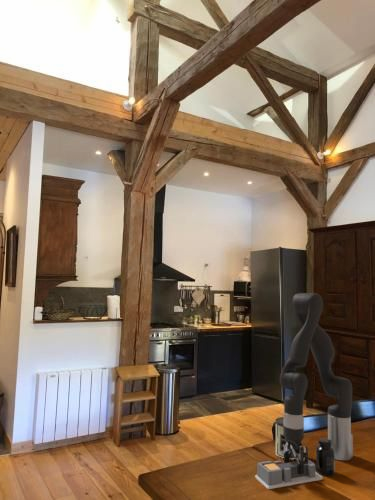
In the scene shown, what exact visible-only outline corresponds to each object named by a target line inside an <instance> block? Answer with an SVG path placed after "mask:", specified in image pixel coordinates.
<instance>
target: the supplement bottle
mask: <svg viewBox="0 0 375 500" xmlns="http://www.w3.org/2000/svg"><path fill="white" fill-rule="evenodd" d="M331 446H332V444H331V440H329V439H328V438H326V437H325V438H324V437H321V438H319V439H318V446H316V448H315V452H316V453H315V455H316V456H315V457H316V458H315V459H316V460H315V461H316V463H315V469H316V473H318V474H319V475H321V476H327V477H328V476H329V477H330V476H331V477H332V476H333V475H335V472H336V469H335V467H336V465H335V462H336V461H335V460H336V459H335V458H334V449H333V448H332V447H331Z"/></svg>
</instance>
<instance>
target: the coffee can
mask: <svg viewBox="0 0 375 500" xmlns="http://www.w3.org/2000/svg"><path fill="white" fill-rule="evenodd" d="M283 418H284V416H282V417H277V418H275V421H274V422H275V453H274V454H275V455H276V456H277V457H278V456H279V457H278V458H280V457H281V459H283V458H284V454H283V451H282V450H280V435H283ZM283 447H284V444H283ZM289 454H290V459H291V460H290V461H294V459H295V460H296V458H295V457H294V454H293V453H292V452H290V453H289ZM299 454H300V452H299V453H298V454H297V455H299Z"/></svg>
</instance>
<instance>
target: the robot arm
mask: <svg viewBox="0 0 375 500" xmlns="http://www.w3.org/2000/svg"><path fill="white" fill-rule="evenodd" d="M292 306H293V311H294V313H295V315H296V317H297V319H298V321H299V323H300V325H301V329H300V330H299V331H298V332H297V334H296V335H295V336H294V338H293V340H292V342H291V344H290V345H291V346H290V350H289V355H288V359H287V360H286V362H285V365H284V366H283V368H282V370H281V373H280V374H279V384H280V385H281V387H282V388H284V389H286V390H291V391H294V393H293V394H291V395H286V396H285V397H284V399H283V404H284V405H283V417H284V418H283V435H280V450H282V451H283V454H284V459H283V464H284V463H290V462H291V460H290V454H289V453H290V452H292V453H293V454H294V457H295V458H296V459H295V460H296V461H297V462H298V464H297V473H298V474H299V475H302V474H303V473H304V464H308V460H309V454H308V453H309V451H308V450H309V449H308V447H307V446H303V444H302V443H303V440H304V437H305V436H304V433H305V429H304V428H305V426H304V421H305V420H304V400H305V396H306V392H307V389H308V385H309V384H308V383H309V381H308V377H307V375H306V374H305V373H303V372H299V371H296V370H297V368H303V367H304V368H305V367H306V365H307V362H308V359H309V358H308V357H309V353H310V351H311V353H312V356H313V358H314V361H315V364H316V367H317V368H318V372H319V376H320V380H321V384H322V388H323V391H324V393H325V395H326V396H328V397H330V398H334V399H337V400H338V402H337V404H332V405H329V406H328V407H327V439H329V440H331V444H332V446H331V447H332V448H333V449H334V458H335V460H336V461H337V460H338V461H344V462H345V461H350V460H351V459H353V458H354V442H353V441H354V438H353V436H354V435H353V434H352V433H351V431H352V429H351V427H352V425H351V423H352V421H351V419H352V418H351V413H352V409H353V408H352V407H353V385H352V382H351V380H350V379H348V378H346V377H341V376H337V375H335V374H334V372H333V371H332V364H333V361H334V357H335V353H336V351H335V347H334V344H333V342H332V339H331V337H330V335H329V334H328V333H327V332H326V331H325V329H323V328H322V327H321V326H320V325H319V321H320V318H321V315H322V312H323V307H324V302H323V298H322V296H321V295H320V294H318V293H315V292H312V293H311V292H309V293H308V292H304V293H303V292H299V293H296V294H294V295H293V298H292ZM283 444H284V447H283ZM299 452H300V454H299V455H297V454H298V453H299ZM299 457H300V459H299ZM304 458H305V460H304Z"/></svg>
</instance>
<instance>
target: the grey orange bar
mask: <svg viewBox="0 0 375 500" xmlns="http://www.w3.org/2000/svg"><path fill="white" fill-rule="evenodd" d="M297 464H298V462H297V460H296V461H290V463H284V462H283V463H281V464H277V465H275V464H274V462H272V464H266V465H264V466H265V467H266V468H267V469H268V470H269V471H270V470H274V469H282V480H283V468H290V469H291V478H297V477H303V476H308V464H315V465H316V463H315V462H313V461H312V460H310V459H308V464H304V473H303V474H302V475H299V474H298V473H297Z"/></svg>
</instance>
